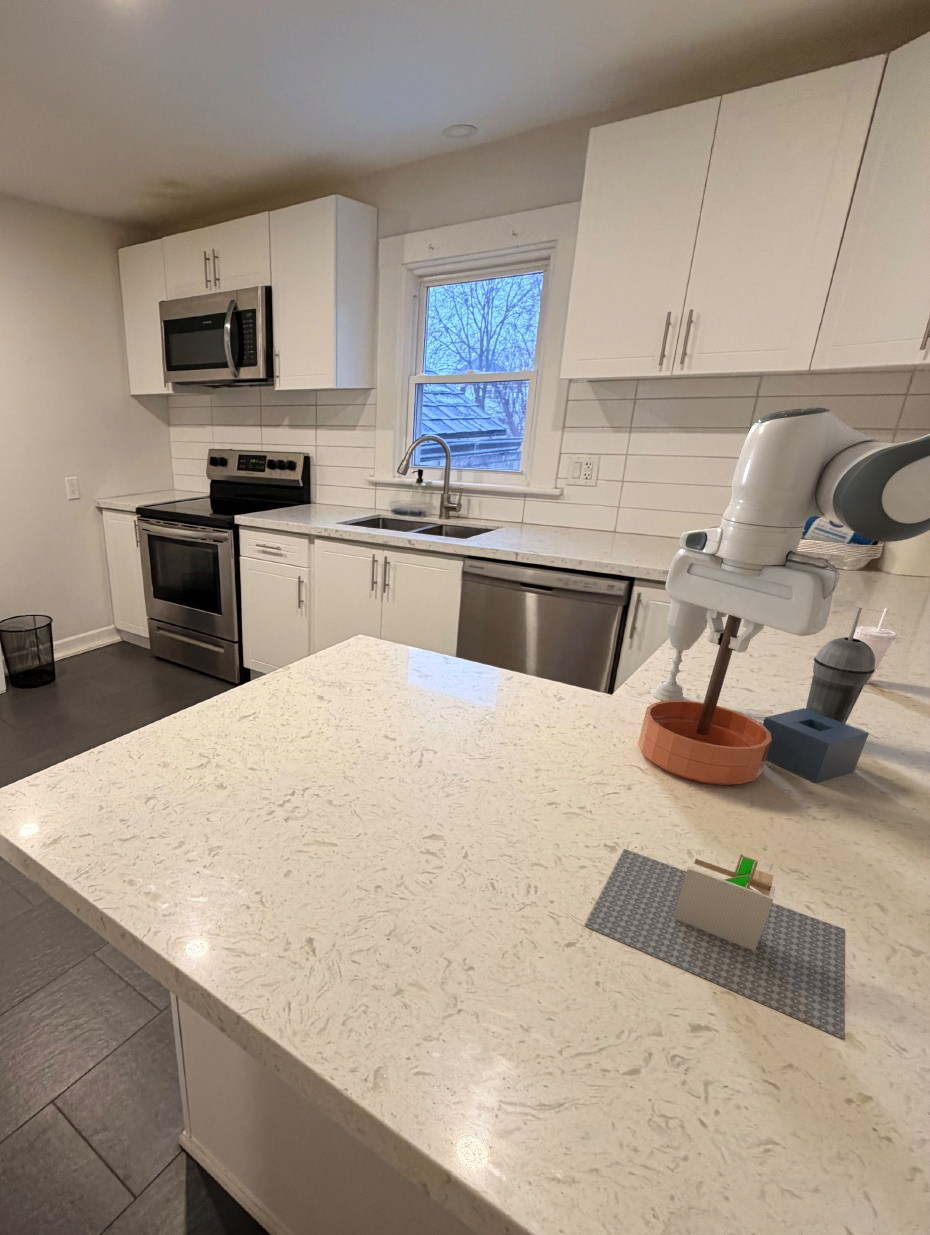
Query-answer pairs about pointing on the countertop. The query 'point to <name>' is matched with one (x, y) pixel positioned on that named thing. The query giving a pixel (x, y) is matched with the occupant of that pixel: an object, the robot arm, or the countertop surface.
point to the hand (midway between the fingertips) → (726, 646)
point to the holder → (813, 744)
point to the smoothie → (876, 639)
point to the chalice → (681, 642)
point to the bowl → (704, 743)
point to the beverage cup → (840, 675)
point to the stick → (717, 676)
